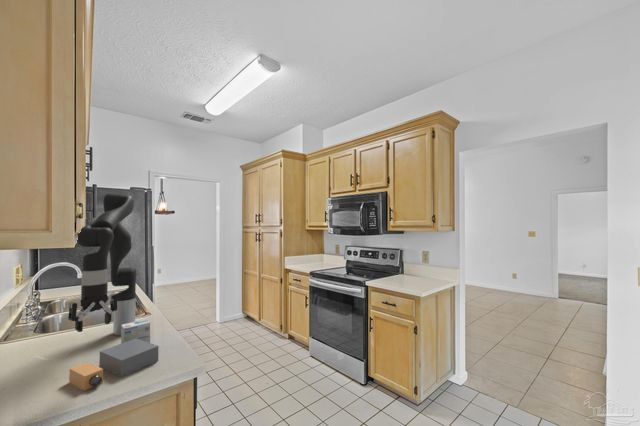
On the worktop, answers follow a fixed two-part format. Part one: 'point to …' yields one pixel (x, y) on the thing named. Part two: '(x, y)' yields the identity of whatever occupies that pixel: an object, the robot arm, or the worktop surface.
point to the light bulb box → (136, 331)
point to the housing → (86, 376)
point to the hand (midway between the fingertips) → (93, 327)
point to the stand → (128, 356)
